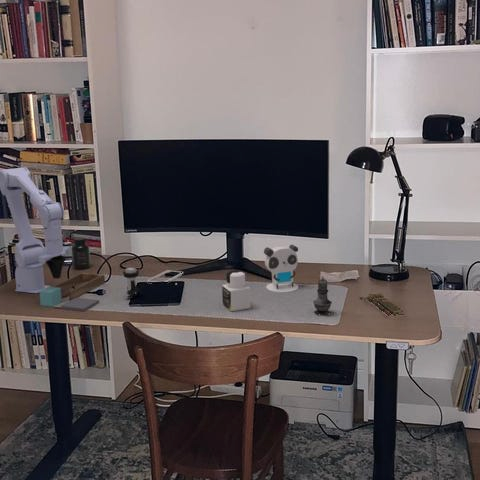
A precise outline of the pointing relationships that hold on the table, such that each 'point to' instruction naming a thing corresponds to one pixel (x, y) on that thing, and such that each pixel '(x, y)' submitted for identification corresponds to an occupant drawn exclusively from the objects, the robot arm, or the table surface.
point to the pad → (79, 304)
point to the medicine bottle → (236, 291)
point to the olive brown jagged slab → (384, 304)
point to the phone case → (164, 273)
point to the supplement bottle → (80, 254)
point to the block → (50, 296)
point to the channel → (91, 280)
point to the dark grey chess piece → (322, 299)
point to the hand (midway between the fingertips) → (56, 277)
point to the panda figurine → (281, 268)
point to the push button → (131, 281)
